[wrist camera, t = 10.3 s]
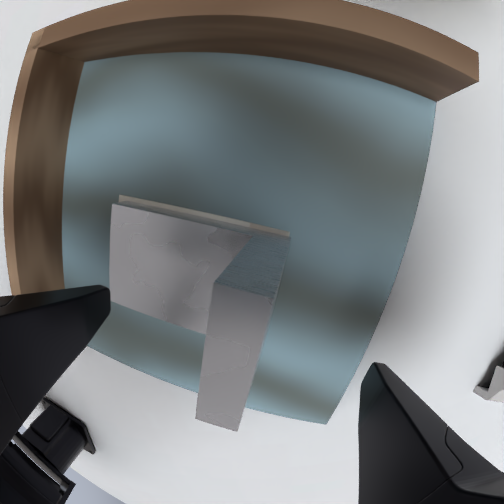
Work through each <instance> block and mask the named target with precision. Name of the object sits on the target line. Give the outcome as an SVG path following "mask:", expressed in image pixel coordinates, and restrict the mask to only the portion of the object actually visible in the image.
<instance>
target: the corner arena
mask: <svg viewBox="0 0 504 504" xmlns="http://www.w3.org/2000/svg"><path fill="white" fill-rule="evenodd" d="M477 82H479V57H478V52H476V51H474V50H472V49H471V48H469V47H467V46H465V45H463V44H461V43H459V42H457V41H455V40H453V39H451V38H449V37H447V36H445V35H443V34H441V33H439V32H437V31H434V30H432V29H430V28H427V27H425V26H423V25H420V24H418V23H415V22H412V21H410V20H407V19H404V18H402V17H399V16H396V15H393V14H390V13H387V12H384V11H381V10H377V9H374V8H370V7H367V6H363V5H359V4H355V3H351V2H347V1H342V0H128V1H124V2H120V3H116V4H112V5H108V6H104V7H101V8H97V9H94V10H91V11H88V12H84V13H81V14H78V15H76V16H73V17H70V18H67V19H65V20H62V21H59V22H57V23H54V24H52V25H49V26H47V27H45V28H42V29H40V30H38V31H36V32H34V33H32V36H31V39H30V42H29V45H28V48H27V51H26V54H25V57H24V60H23V64H22V67H21V71H20V75H19V78H18V82H17V86H16V91H15V95H14V100H13V105H12V110H11V116H10V122H9V128H8V136H7V144H6V154H5V166H4V187H3V215H4V236H5V248H6V258H7V267H8V274H9V281H10V287H11V293H12V295H15V296H16V295H20V294H28V293H36V292H44V291H52V290H60V289H68V288H76V287H84V286H91V285H103V286H105V287H108V288H109V289H110V280H109V260H110V228H111V212H112V204H113V203H117V202H122V201H126V200H127V201H132V202H137V203H142V204H146V205H151V206H156V207H161V208H165V209H170V210H174V211H179V212H184V213H188V214H193V215H197V216H202V217H206V218H211V219H215V220H220V221H224V222H228V223H233V224H237V225H241V226H246V227H250V228H254V229H258V230H263V231H267V232H271V233H275V234H279V235H284V236H288V237H291V240H290V244H289V248H288V253H287V257H286V261H285V265H284V269H283V273H282V277H281V281H280V285H279V289H278V293H277V297H276V301H275V305H274V309H273V312H272V316H271V320H270V324H269V328H268V331H267V335H266V339H265V342H264V346H263V349H262V352H261V356H260V359H259V363H258V366H257V369H256V373H255V376H254V379H253V383H252V386H251V389H250V392H249V396H248V399H247V402H246V405H245V407H246V408H250V409H253V410H257V411H261V412H265V413H270V414H274V415H278V416H283V417H288V418H292V419H298V420H303V421H308V422H314V423H320V424H327V422H328V421H329V419H330V417H331V416H332V414H333V412H334V410H335V409H336V407H337V405H338V403H339V402H340V400H341V398H342V396H343V394H344V393H345V391H346V389H347V387H348V385H349V383H350V381H351V379H352V377H353V376H354V374H355V372H356V370H357V368H358V366H359V364H360V361H361V359H362V357H363V355H364V353H365V351H366V349H367V347H368V345H369V342H370V340H371V338H372V336H373V333H374V331H375V329H376V327H377V324H378V322H379V319H380V317H381V315H382V312H383V310H384V307H385V305H386V302H387V300H388V297H389V294H390V292H391V289H392V286H393V284H394V281H395V278H396V275H397V273H398V270H399V267H400V264H401V261H402V258H403V255H404V252H405V248H406V245H407V242H408V239H409V235H410V232H411V228H412V225H413V221H414V218H415V214H416V210H417V206H418V202H419V198H420V194H421V190H422V185H423V181H424V176H425V172H426V167H427V162H428V156H429V151H430V145H431V139H432V132H433V125H434V118H435V109H436V102H437V101H439V100H441V99H443V98H445V97H447V96H449V95H451V94H453V93H456V92H458V91H460V90H462V89H464V88H466V87H468V86H470V85H472V84H474V83H477ZM205 337H206V335H205V334H202V333H199V332H196V331H193V330H189V329H186V328H183V327H180V326H177V325H174V324H171V323H169V322H166V321H163V320H160V319H157V318H154V317H152V316H149V315H146V314H143V313H141V312H138V311H135V310H133V309H130V308H127V307H125V306H122V305H120V304H117V303H115V302H112V301H111V311H110V314H109V316H108V317H107V318H106V320H105V321H104V323H103V324H102V325H101V327H100V328H99V330H98V331H97V332H96V334H95V335H94V337H93V338H92V340H91V341H90V342H89V344H88V345H87V346H89V347H90V348H92V349H94V350H96V351H98V352H100V353H102V354H104V355H106V356H108V357H111V358H113V359H115V360H117V361H119V362H121V363H123V364H126V365H128V366H130V367H132V368H134V369H137V370H139V371H141V372H144V373H146V374H149V375H151V376H153V377H156V378H158V379H161V380H163V381H166V382H169V383H171V384H174V385H177V386H179V387H182V388H185V389H188V390H191V391H193V392H196V393H198V391H199V383H200V375H201V367H202V359H203V351H204V344H205Z"/></svg>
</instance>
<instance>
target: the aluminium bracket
mask: <svg viewBox="0 0 504 504" xmlns="http://www.w3.org/2000/svg"><path fill="white" fill-rule="evenodd" d="M290 240H291V237H288V236H284V235H279V234H275V233H271V232H267V231H263V230H258V229H254V228H250V227H246V226H241V225H237V224H233V223H228V222H224V221H220V220H215V219H211V218H206V217H202V216H197V215H193V214H188V213H184V212H179V211H174V210H170V209H165V208H161V207H156V206H151V205H146V204H142V203H137V202H132V201H127V200H126V201H122V202H117V203H113V204H112V212H111V228H110V260H109V280H110V295H111V301H112V302H115V303H117V304H120V305H122V306H125V307H127V308H130V309H133V310H135V311H138V312H141V313H143V314H146V315H149V316H152V317H154V318H157V319H160V320H163V321H166V322H169V323H171V324H174V325H177V326H180V327H183V328H186V329H189V330H193V331H196V332H199V333H202V334H205V335H206V337H205V344H204V351H203V359H202V367H201V375H200V383H199V391H198V400H197V409H196V418H195V419H198V420H201V421H204V422H207V423H210V424H213V425H216V426H220V427H223V428H226V429H230V430H233V431H237V430H238V427H239V424H240V421H241V418H242V415H243V412H244V409H245V405H246V402H247V399H248V396H249V392H250V389H251V386H252V383H253V379H254V376H255V373H256V369H257V366H258V363H259V359H260V356H261V352H262V349H263V346H264V342H265V339H266V335H267V331H268V328H269V324H270V320H271V316H272V312H273V309H274V305H275V301H276V297H277V293H278V289H279V285H280V281H281V277H282V273H283V269H284V265H285V261H286V257H287V253H288V248H289V244H290Z"/></svg>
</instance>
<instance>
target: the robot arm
mask: <svg viewBox="0 0 504 504" xmlns="http://www.w3.org/2000/svg"><path fill="white" fill-rule="evenodd" d="M110 311H111V295H110V289H109V288H108V287H105V286H103V285H91V286H84V287H76V288H68V289H60V290H52V291H44V292H36V293H28V294H20V295H16V296H15V295H11V296H2V297H0V504H65V502H66V500H67V498H68V497H69V495H70V493H71V492H72V489H73V488H74V486H75V485H76V484H75V483H74V482H72V481H70V480H69V479H68V478H67V477H65V476H64V475H63V474H64V473H65V471H66V470H67V469H68V467H69V466H70V465H71V464H72V462H73V461H74V460H75V459H76V457H77V456H78V455H79V454H80V452H81V451H82V450H83V449H85V450H86V451H88V452H90V453H91V454H94V453H95V449H94V447H93V444H92V442H91V439H90V437H89V434H88V432H87V429H86V426H85V425H84V424H83V423H82V422H80V421H79V420H77V419H76V418H74V417H72V416H71V415H69V414H68V413H66V412H65V411H63V410H62V409H60V408H59V407H57V406H56V405H55V404H53V403H52V402H50V401H49V400H48V399H46V398H45V397H44V396H45V395H46V394H47V392H48V391H49V390H50V389H51V387H52V386H53V385H54V384H55V383H56V381H57V380H58V379H59V378H60V376H61V375H62V374H63V373H64V372H65V371H66V369H67V368H68V367H69V366H70V365H71V363H72V362H73V361H74V360H75V359H76V358H77V356H78V355H79V354H80V353H81V352H82V351H83V350H84V348H85V347H86V346H87V345H88V344H89V342H90V341H91V340H92V338H93V337H94V335H95V334H96V332H97V331H98V330H99V328H100V327H101V325H102V324H103V323H104V321H105V320H106V318H107V317H108V316H109V314H110ZM41 400H42V403H43V405H44V407H45V410H44V411H43V412H42V413H41V414H40V415H39V416H38V417H37V418H36V419H35V420H34V421H33V422H32V423H31V424H30V427H29V428H28V429H27V430H26V431H25V432H24V433H23V434H22V435H21V434H20V433H19V432H18V430H19V428H20V427H21V426H22V424H23V423H24V422H25V420H26V419H27V418H28V416H29V415H30V414H31V412H32V411H33V410H34V409H35V407H36V406H37V405H38V404H39V402H40V401H41ZM358 436H359V502H358V504H504V473H503V472H501V471H500V470H498V469H497V468H496V467H495V466H493V465H492V464H491V463H490V462H488V461H487V460H486V459H485V458H484V457H482V456H481V455H480V454H479V453H478V452H476V451H475V450H474V449H473V448H472V447H471V446H469V445H468V444H467V443H466V442H465V441H464V440H463V439H462V438H461V437H460V436H458V435H457V434H456V433H455V432H454V431H453V430H452V429H451V428H450V427H449V426H448V427H447V424H446V423H445V422H444V421H443V420H442V419H441V418H440V417H439V416H438V415H437V414H436V413H435V412H434V411H433V410H432V409H431V408H430V407H429V406H428V405H427V404H426V403H425V402H424V401H423V400H422V399H421V398H420V397H419V396H418V395H417V394H415V393H414V392H413V391H412V390H411V389H410V388H409V387H408V386H407V385H406V384H405V383H404V382H403V381H402V380H401V379H400V378H399V377H398V376H397V375H396V374H395V373H394V372H393V371H392V370H391V369H390V368H389V367H388V366H387V365H385V364H383V363H377V362H374V363H372V364H371V366H370V368H369V370H368V372H367V374H366V375H365V377H364V379H363V381H362V384H361V391H360V408H359V423H358ZM12 439H13V440H14V441H15V442H16V443H17V445H18V446H19V447H20V448H21V449H22V450H23V451H24V452H25V453H26V454H27V455H28V456H29V457H30V458H31V459H32V460H34V462H35V463H36V464H38V465H39V466H40V467H41V468H42V469H43V470H44V471H45V472H46V473H47V474H49V475H50V476H51V477H52V478H53V479H54V480H55V481H57V482H58V483H59V484H60V485H59V484H58V483H57V482H55V481H54V480H53V479H52V478H51V477H49V476H48V475H47V474H46V473H45V472H44V471H43V470H41V469H40V468H39V467H38V466H37V465H36V464H35V463H34V462H33V461H32V460H31V459H30V458H29V457H28V456H27V455H26V454H25V453H24V452H23V451H22V450H21V449H20V448H19V447H18V446H17V445H16V444H13V443H12V442H11V440H12Z"/></svg>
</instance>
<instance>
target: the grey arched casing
mask: <svg viewBox="0 0 504 504" xmlns="http://www.w3.org/2000/svg"><path fill="white" fill-rule="evenodd" d="M473 392H474V393H476V394H477V395H479V396H481V397H482V398H484V399H485V400H490V401H496V402H503V403H504V362H503V365H502V367H500V366H496V369H495V372H494V375H493V378H492V381H491V384H490V387H489V388H485V387H480V386H476V387H475V389H474V391H473Z"/></svg>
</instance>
